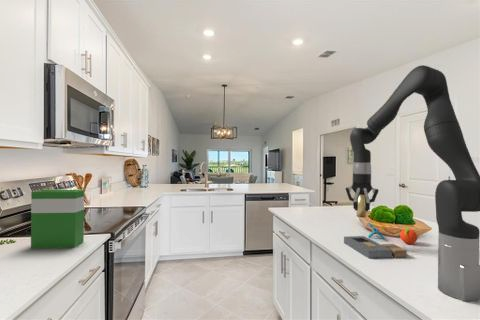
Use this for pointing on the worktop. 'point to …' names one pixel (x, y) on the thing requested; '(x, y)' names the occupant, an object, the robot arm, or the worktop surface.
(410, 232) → the tomato
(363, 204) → the brass peg
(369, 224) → the gear
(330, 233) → the worktop surface
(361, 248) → the flange plate
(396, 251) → the brown rectangular block
